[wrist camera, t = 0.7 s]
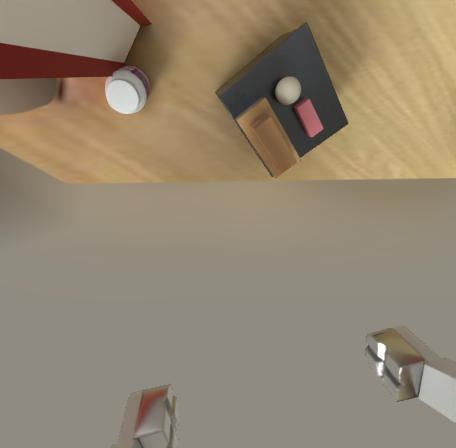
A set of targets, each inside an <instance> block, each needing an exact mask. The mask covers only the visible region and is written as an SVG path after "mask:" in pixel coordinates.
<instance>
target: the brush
mask: <svg viewBox="0 0 456 448" xmlns="http://www.w3.org/2000/svg"><path fill="white" fill-rule="evenodd" d="M236 121H237V122H238V124H239V125H240V127H241V128H242V130H243V131H244V133H245V134H246V136H247V137H248V139H249V140H250V142H251V143H252V145H253V146H254V148H255V149H256V151H257V152H258V154H259V155H260V157H261V158H262V160H263V161H264V163H265V164H266V166H267V167H268V169H269V170H270V172H271V173H272V175H273V176H274V177H275V178H276V177H278V176H279V175H281V174H282V173H283V172H285V171H286V170H288V169H289V168H291V167H292V166H293V165H295V164H296V163H298V162H299V161H301V159H300V157H299V155H298V154H297V152H296V150H295V148H294V147H293V145H292V143H291V141H290V140H289V138H288V136H287V134H286V133H285V131H284V129H283V127H282V125H281V124H280V122H279V120H278V118H277V117H276V115H275V113H274V111H273V110H272V108H271V106H270V104H269V103H268V101H267V99H266V98H265V97H262V98H258V99H257V100H256V101H255V102H253V103H252V104H251V105H250V106H248V107H247V108H246V109H245V110H243V111H242V112H241V113H240V114H239V115H237V116H236Z"/></svg>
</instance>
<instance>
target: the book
mask: <svg viewBox="0 0 456 448" xmlns="http://www.w3.org/2000/svg"><path fill="white" fill-rule="evenodd" d="M149 24H151V23H150V22H149V20H148V19H147V18H146V17H145V16H144V15H143V13H142V12H141V11H140V10H139V9H138V8H137V7H136V5H135V4H134V3H133V2H132V1H131V0H0V79H21V78H22V79H25V78H67V77H109V76H113V72H115V71H116V70H118V69H120V68H122V67H124V66H125V64H124V62H125V60H126V57H127V55H128V53H129V51H130V49H131V46H132V44H133V42H134V40H135V37H136V35H137V33H138V31H139V28H140V26H143V25H149Z"/></svg>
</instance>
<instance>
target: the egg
mask: <svg viewBox="0 0 456 448" xmlns="http://www.w3.org/2000/svg"><path fill="white" fill-rule="evenodd" d="M300 93H301V86H300V83H299V81H298V80H297V79H296V78H294V77H285V78H283V79H282V80H280V81H279V83H278V84H277V86H276V90H275V94H276V98H277V100H278V101H279V102H280V103H281V104H284V105H289V104H292V103H294V102H295V101H296V100H297V99H298V98H299V96H300Z"/></svg>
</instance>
